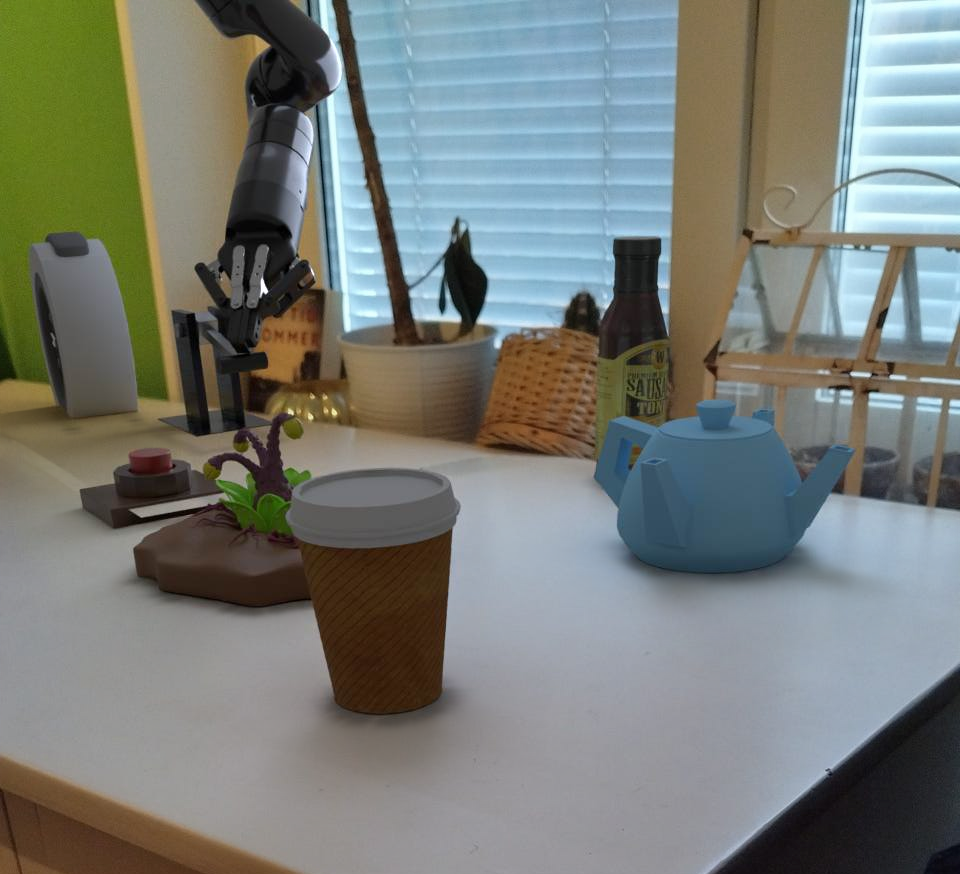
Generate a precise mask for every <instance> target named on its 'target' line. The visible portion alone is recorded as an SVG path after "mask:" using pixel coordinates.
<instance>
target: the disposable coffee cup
mask: <svg viewBox="0 0 960 874" xmlns="http://www.w3.org/2000/svg"><path fill="white" fill-rule="evenodd" d="M461 507H462V505H461V503H460V501H459V499H457V498H456V497H455V494H454V490H453V485H452V482H451V480H450V479H449V478H448V477H447V476H445V475H443V474H442V473H439V472H435V471H430V470H427V469H421V468H409V467H408V468H406V467H370V468H359V469H358V468H357V469H350V470H349V469H348V470H342V471H336V472H332V473H327V474H322V475H319V476H314V477H311V479H309V480H306V481H304V482H302V483H300V484H298V485H297V486H296V487H295V488H294V489H293V490H292V497H291V507H290V509H289V510H288V511H287V513H286V516H285V517H286V521H287V523H288V524H289V525H290V526H291V528H292V532H293V534H294V536H295V537H297V540H298V544H299V548H300V553H301V557H302V562H303V566H304V569H305V574H306V578H307V583H308V587H309V590H310V596H311V603H312V608H313V611H314V612H313V613H314V616H315V621H316V625H317V629H318V633H319V637H320V640H321V647H322V650H323V654H324V658H325V663H326V667H327V671H328V675H329V679H330V683H331V687H332V692H333V697H334V700H335V702H336V703H337V704H338V705H340V706H341V707H343V708H346V709H347V710H350V711H353V712H354V711H355V712H359V713H365V714H379V715H380V714H384V715H385V714H393V713H395V714H396V713H403V712H407V711H411V710H416V709H419V708H421V707H424V706H426V705H429V704H431V703H432V702H434V701H435V700H437V699H438V698H439V697H440V695H441V694H442V691H443V677H444V661H445V660H444V659H445V647H446V632H447V620H448V605H449V604H448V602H449V589H450V575H451V563H452V562H451V561H452V545H453V530H454V527H455V526H456V523H457V519H458V517H457V516H459V514H460V511H461Z"/></svg>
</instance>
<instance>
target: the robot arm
mask: <svg viewBox="0 0 960 874" xmlns="http://www.w3.org/2000/svg"><path fill="white" fill-rule="evenodd" d="M193 1H194V3H196V5H197V6H198V8H200V10H201V11H202V13H203V14H204V16H205V17H206V18H208V20H209V22H210V23H211V25H212V26H213V27H214V28H215V30H216V31H217V32H218V33H219V34H220V35H221V36H222V37H224V39H227V40H230V41H232V40H239V39H241V38H244V37H248V36H255V37H257V38H259V39H261V40H262V41H263V42H264V43H266V44H268V45H269V46H268V47H266V48H265V49H264V50H262V51H261V52H260V53H259V54H258V55H256V56H255V57H254V59H253V60H252V61H251V63H250V66H249V68H248V69H247V72H246V76H245V81H244V97H245V108H246V109H245V111H246V119H247V125H248V129H247V134H246V139H245V143H244V148H243V153H242V158H241V160H240V163H239V166H238V169H237V170H236V171H237V172H236V175H235V178H234V179H235V180H234V185H233V189H232V195H231V200H230V204H229V210H228V214H227V219H226V224H225V231H224V232H225V233H224V242H223V244H222V246H221V247H220V248H219V249H218V251H217V258H216V259H215V260H213V261H212V262H210V263H209V264H207V265H206V263H205V262H203V261H202V262H201V261H200V262H197V263H196V264H195V265H194V272H195V273H196V275H197V277H198V278H199V280H200V282H201V284H202V285H203V287H204V289H205V290H206V292H207V293H208V295H209V296H210V298H211V299H212V301H213V303H214V305H216V306H217V307H218V308H219V310H220V311H221V313H222V314H223V316H224V317H225V318H226V319H230V321H229V327H228V331H227V338H228V340H229V342H230V344H231V345H232V347H233V348H234V349H235V351H236V353H242V354H247V353H253V349H254V348H256V347H257V346H258V345H259V341H260V336H261V331H262V326H263V323H264V322H265V321H266V319H267V318H270V317H273V318H275V319H279V318H281V317H282V316H283V315H284V314H286V312H288V310H289V309H291V308H292V307H293V306H294V304H296V303H297V302H298V301H299V300H300V299H301V298H302V297H303V296H304V295H305V294H306V293H307V292H308V291H309V290H310V289H311V288H312V287H313V286H314V285H315V284H316V283H317V277H316V275H315V272H314V270H313V268H312V266H311V263H310V261H309V260H308V259H304V258H303V259H301V258H300V255H299V252H298V251H299V248H300V243H301V237H302V231H303V226H304V220H305V215H306V211H307V209H308V199H309V188H310V187H309V185H310V184H309V182H310V175H311V168H312V165H313V164H312V163H313V158H314V153H315V147H316V146H315V143H316V133H315V128H314V125H313V122H312V121H311V119H310V118H309V117H308V115H307V114H306V113H307V112H308V111H310V110H311V109H313V108H315V107H316V106H317V105H319V104H320V103H321V102H324V100H326V99H328V98H329V97H330V96H332V95H333V94H334V93H335V92H336V91H337V89H338V88H339V86H340V84H341V80H342V72H343V71H342V63H341V59H340V54H339V52H338V50H337V48H336V45H335V44H334V41H332V39H331V37H330V36H329V35H328V33H327V32H326V31H325V30H324V29H323V28H322V27H321V25H319V24H318V23H317V22H316V21H315V20H314V19H313V18H312V17H310V16H309V15H308V14H307V13H306V12H304V11H303V10H302V9H301V8H299V7H298V6H297V5H296V4H295V3H293V2H292V0H193ZM223 273H224V274H225V275H226V277H227V279H228V280H229V282H230V287H231V294H230V295H231V296H230V297H228V296H227V295H226V293H225V292H224V290H223V289H222V286H223V284H222V283H223V277H222V275H223Z"/></svg>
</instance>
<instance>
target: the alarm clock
mask: <svg viewBox="0 0 960 874" xmlns="http://www.w3.org/2000/svg"><path fill="white" fill-rule="evenodd" d="M28 264H29V277H30V285H31V286H30V287H31V292H32V293H31V294H32V299H33V307H34V313H35V317H36V324H37V328H38V335H39V339H40V343H41V348H42V353H43V354H42V355H43V358H44V363H45V367H46V371H47V377H48V380H49V385H50V389H51V392H52V395H53V400H54V403H55V406H56V407H58V406H61V407H62V408H63V409H64V410H65V412H66V413H67V414H68V416H69V417H70V418H71V419H80V418H81V419H82V418H88V417H98V416H107V415H115V414H124V413H132V412H138V411H139V394H138V384H137V374H136V368H135V359H134V353H133V347H132V342H131V341H132V340H131V335H130V330H129V325H128V324H129V323H128V320H127V315H126V311H125V306H124V302H123V297H122V294H121V291H120V287H119V282H118V279H117V275H116V272H115V270H114V267H113V264H112V260H111V257H110V255H109V253H108V251H107V249H106V247H105V244H104V243H103V242H102V241H101V240H100V239H99V238H88V239H86V237H85V236H84V234H83V233H81V232H80V231H76V230H75V231H74V230H73V231H63V232H62V231H61V232H50V233H48V234H47V235H45V239H44V242H35V243H33V242H32V243H31V245H29V251H28Z"/></svg>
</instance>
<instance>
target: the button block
mask: <svg viewBox="0 0 960 874" xmlns="http://www.w3.org/2000/svg"><path fill="white" fill-rule="evenodd" d="M172 465H173V469H171V470H168V471H164V472H158V473H145V474H138V473H131V467H130V462H129V463H126V464H122V465H120V466H118V467H116V468H115V470H113V471H112V475H113V481H114V482H113V483H107V484H102V485H96V486H89V487H83V488H80V489H79V494H80V501H81V505H82V506H81V507H82V508H83V510H86V511H87V512H88V513H90V514H91V515H93V516H94V517H96V518H97V519H99V520H100V521H102V522H103V523H104V524H106V525H108V526H109V527H110V528H112V529H114V530H116V529H122V528H126V527H133V526H138V525H143V524H148V523H154V522H159V521H164V520H170V519H175V518H181V517H186V516H192V515H194V514H196V513H198V511H199V512H200V511H203V510H204V509H206V508H207V505H203V506H201V507H202V508H204V509H202V508H199V507H200V506H197V507H193V508H187V509H180V510H176V511H169V512H165V513H158V514H154V515H148V516H143V517H142V516H139V515H138V514H136V513H135V512H133V511H132V510H133V509H139V508H145V507H150V506H154V505H155V506H156V505H162V504H166V503H173V502H179V501H184V500H191V499H196V498H201V497H206V496H213V495H217V494H218V495H219V494H225V492H224V491H223V490H222V489H221V488H219V487H218V486H217V485H216V480H217V479H213V480H211V479H205V475H204V473H203V472H201V471H198V470H197V469H192V465H191V463H189V462H187V461H186V460H182V459H173V458H172ZM215 504H216V503H215ZM215 504H211V505H212V506H215ZM209 506H210V505H209Z"/></svg>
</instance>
